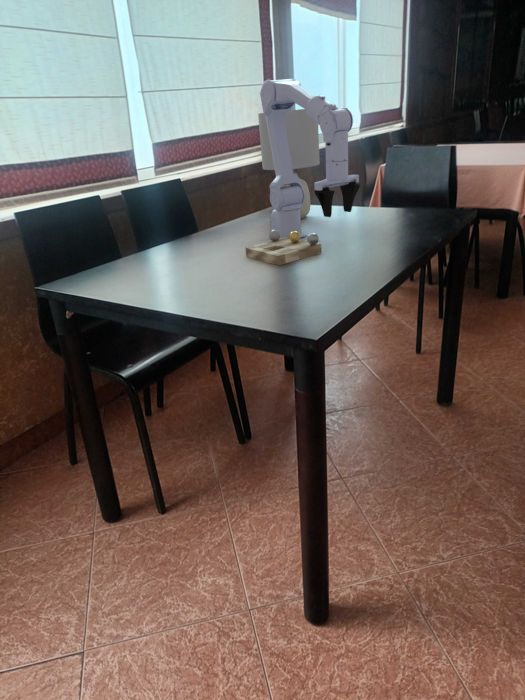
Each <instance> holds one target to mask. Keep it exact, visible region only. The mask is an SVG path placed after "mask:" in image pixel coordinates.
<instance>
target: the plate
mask: <svg viewBox="0 0 525 700" xmlns="http://www.w3.org/2000/svg"><path fill="white" fill-rule="evenodd" d="M244 249H245V257H247V258H251V259H254V260H258V261H262V262H265V263H269V264H273V265H277V266H282V265H285V264H288V263H292V262H296V261H299V260H302V259H305V258H309V257H311V256H315V255H318V254H322V243H319V242H318V243H317V244H315V245H310V244H309V243H308V241H307V240H304V239H300V240H299V241H298V242H295V243H294V242H291V241H290V239H289V237H284V238H280V239H279V240H277V241H273V240H269V241H266V242H262V243H258V244H255V245H251V246H246V247H245V248H244Z"/></svg>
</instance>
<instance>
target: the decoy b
mask: <svg viewBox="0 0 525 700" xmlns="http://www.w3.org/2000/svg"><path fill="white" fill-rule="evenodd" d="M306 241H308V243H309V244H310V245H315V244H317V243H319V241H320V238H319V235H318V234H317V233H315V232H311V233H309V234H307V236H306Z"/></svg>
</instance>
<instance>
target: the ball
mask: <svg viewBox="0 0 525 700" xmlns="http://www.w3.org/2000/svg"><path fill="white" fill-rule="evenodd" d="M289 239H290V241H291V242H294V243H295V242H298V241H299V240H301V238H300V233H299V232H297V231H292V232H291V233H290V234H289Z"/></svg>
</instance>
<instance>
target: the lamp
mask: <svg viewBox="0 0 525 700" xmlns="http://www.w3.org/2000/svg"><path fill="white" fill-rule="evenodd" d="M257 114H258V128H259V139H260V142H259V143H260V152H261V162H262V164H261V165H262V170H265V171H266V170H267V171H275V168H274V162H273V156H272V151H271V145H270V139H269V133H268V128H267V122H266V116H265V115H264V113H263V112H261V113H257ZM284 120H285V126H286V132H287V139H288V145H289V151H290V157H291V163H292V169H293V174H294V175H296V176H297V177H298V178H300V177H299V175H298V173H297V172H295V170H296V169H303V168H304V169H305V168H310V167H317V166H319V165H320V164H321V163H320V139H319V136H320V133H319V131H320V130H319V124H317V123H316V122H315V121H313V120H312V119H311V118H309V117H308V116H307V114H306V109H304V108H301V109H291V110H290V112H288V113H287V114H286V115H285V118H284ZM300 179H301V183H302V187H303V189H304V191H305V200H304V203H303V204H302V207H300V219H304V218H305V217H307V216H308V215H309V213H310V210H311V195H310V190H309V189H310V188H309V186H308V184H307V182H306V181H305V180H304V179H303V178H300ZM286 186H290V185H283V186H281V187H286Z"/></svg>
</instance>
